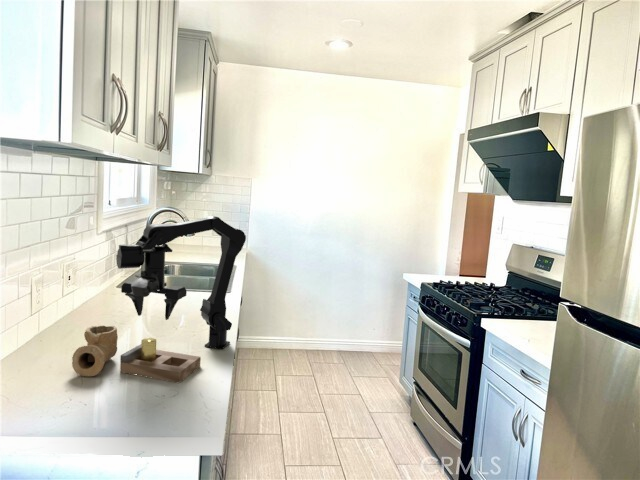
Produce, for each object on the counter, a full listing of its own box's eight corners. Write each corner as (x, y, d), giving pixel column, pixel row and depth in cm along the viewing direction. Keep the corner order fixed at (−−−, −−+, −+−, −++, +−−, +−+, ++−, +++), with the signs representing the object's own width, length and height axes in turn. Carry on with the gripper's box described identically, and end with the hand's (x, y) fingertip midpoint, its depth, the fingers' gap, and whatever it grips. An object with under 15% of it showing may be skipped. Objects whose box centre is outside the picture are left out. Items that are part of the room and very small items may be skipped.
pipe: (68, 378, 125) (68, 341, 124) (90, 355, 141) (90, 323, 140) (104, 378, 126) (104, 342, 125) (121, 356, 142) (122, 323, 141)
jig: (145, 357, 142) (145, 341, 141) (200, 366, 138) (200, 350, 137) (120, 372, 130) (120, 355, 130) (179, 383, 126) (179, 365, 126)
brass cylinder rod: (146, 363, 137) (146, 337, 136) (158, 365, 137) (159, 339, 136) (137, 368, 134) (138, 341, 133) (150, 370, 133) (151, 343, 132)
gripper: (109, 267, 134) (108, 320, 136) (168, 275, 130) (166, 329, 132) (133, 261, 145) (132, 310, 147) (188, 268, 141) (186, 318, 143)
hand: (153, 317), depth 142 cm, fingers open, 9 cm apart
